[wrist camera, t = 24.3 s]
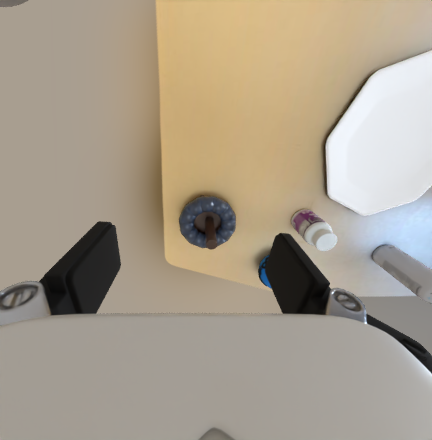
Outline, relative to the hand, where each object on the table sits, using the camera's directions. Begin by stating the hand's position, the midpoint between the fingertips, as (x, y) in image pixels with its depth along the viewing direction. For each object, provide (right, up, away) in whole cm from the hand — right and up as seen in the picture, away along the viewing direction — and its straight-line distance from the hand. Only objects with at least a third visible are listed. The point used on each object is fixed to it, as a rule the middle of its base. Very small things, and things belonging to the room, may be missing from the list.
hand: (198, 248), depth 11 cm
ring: (-1, +1, +27) cm, 27 cm away
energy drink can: (+46, -7, +39) cm, 60 cm away
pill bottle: (+21, +2, +32) cm, 38 cm away
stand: (0, +2, +30) cm, 30 cm away
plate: (+36, +16, +26) cm, 47 cm away
